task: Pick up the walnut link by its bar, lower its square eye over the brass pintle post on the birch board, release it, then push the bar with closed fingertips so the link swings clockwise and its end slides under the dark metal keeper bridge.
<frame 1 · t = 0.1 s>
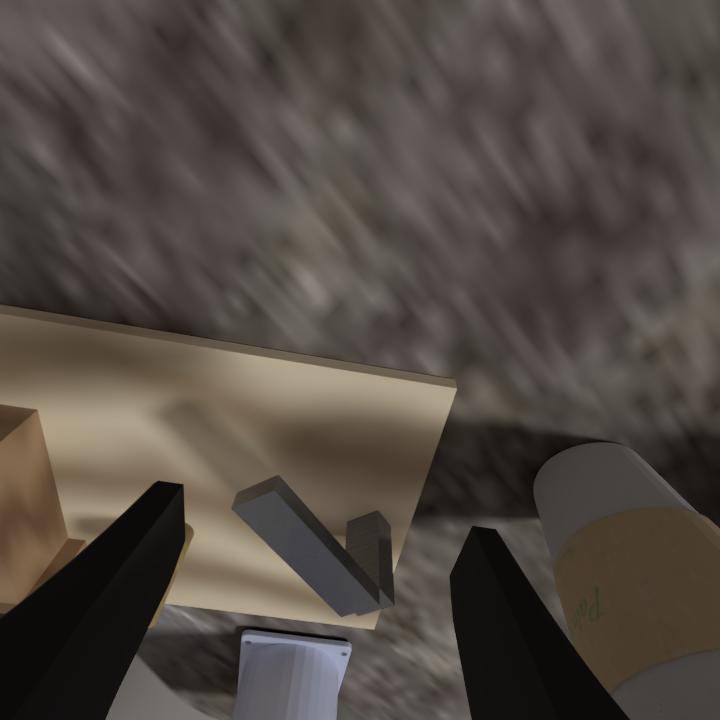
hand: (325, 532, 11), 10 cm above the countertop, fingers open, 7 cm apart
board: (191, 491, 24), on the countertop
coffee cup: (587, 479, 23), on the countertop
link: (14, 436, 22), point 1 cm above the countertop, touching board
keeper: (323, 468, 22), resting on board
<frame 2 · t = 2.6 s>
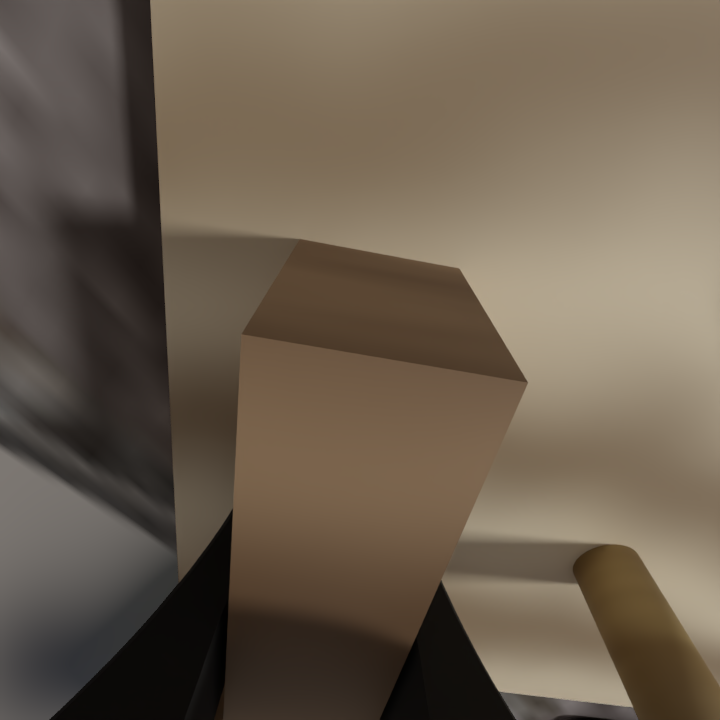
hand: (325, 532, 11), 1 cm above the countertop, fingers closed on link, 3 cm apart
board: (651, 483, 12), on the countertop
link: (361, 348, 9), point 1 cm above the countertop, touching board, gripper
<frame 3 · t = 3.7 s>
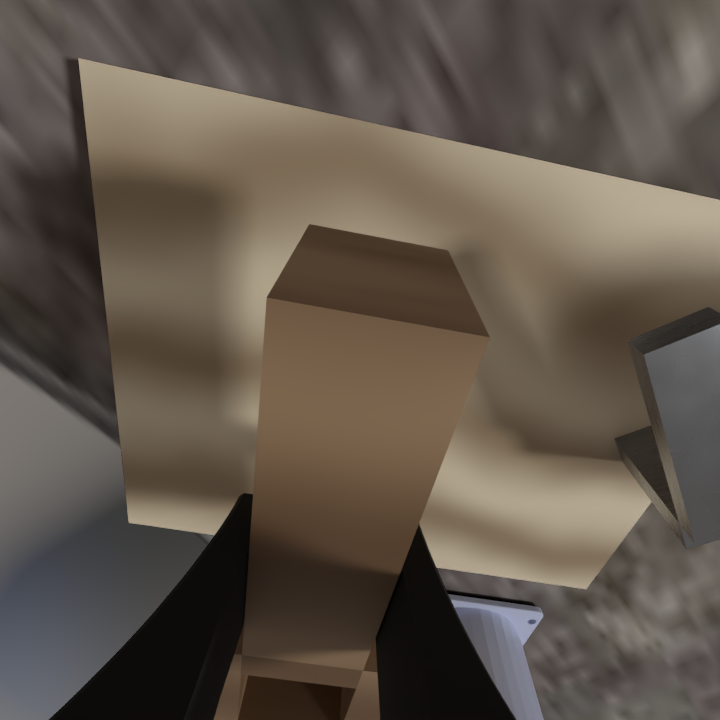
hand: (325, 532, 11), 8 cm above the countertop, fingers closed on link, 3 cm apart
board: (411, 397, 19), on the countertop
link: (362, 320, 10), point 6 cm above the countertop, touching gripper
keeper: (616, 358, 17), resting on board
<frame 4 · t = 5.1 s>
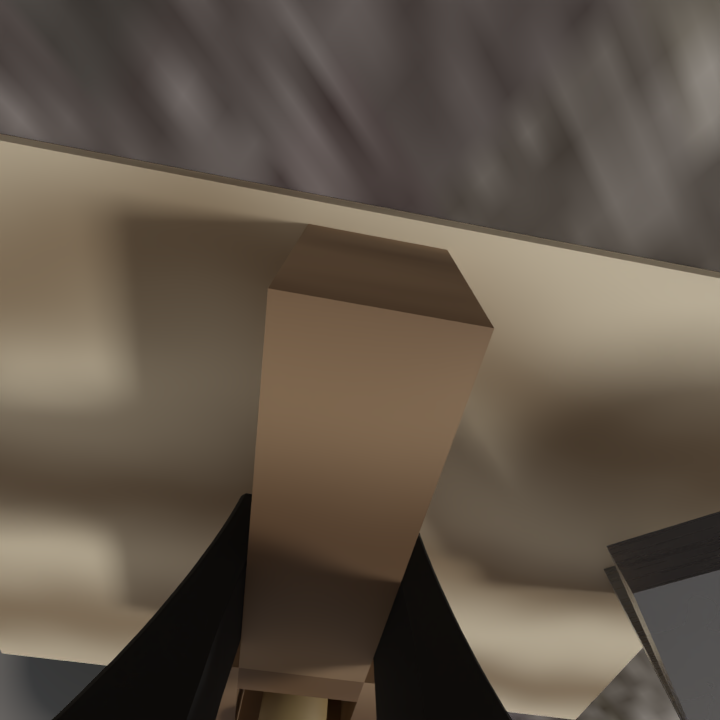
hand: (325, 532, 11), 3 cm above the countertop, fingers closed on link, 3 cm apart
board: (337, 516, 14), on the countertop
link: (361, 321, 10), point 1 cm above the countertop, touching board, gripper
keeper: (602, 480, 12), resting on board
when the fingers open (3 cm above the countertop, at t = 5.3 s): link stays where it is, resting on board.
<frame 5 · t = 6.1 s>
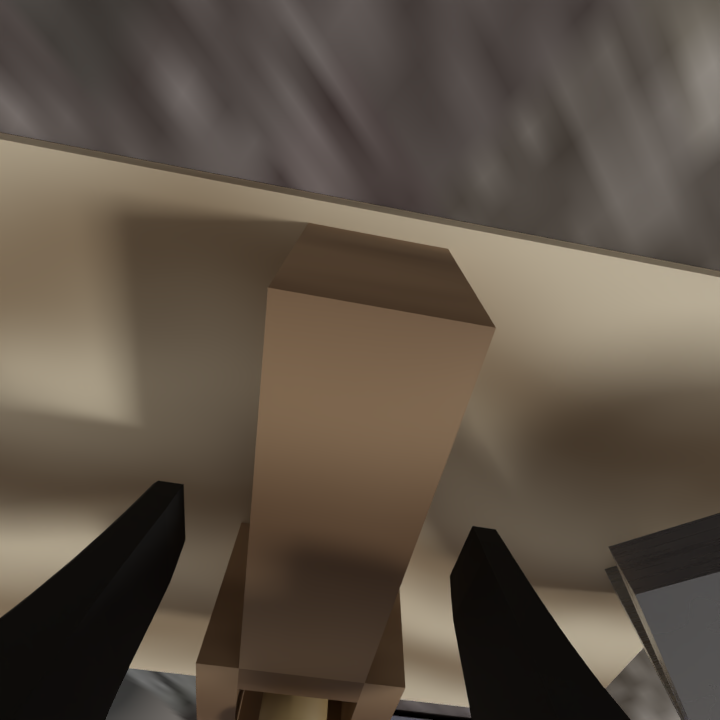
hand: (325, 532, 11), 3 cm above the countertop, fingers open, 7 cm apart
board: (337, 516, 14), on the countertop
link: (362, 321, 10), point 1 cm above the countertop, touching board
keeper: (603, 480, 12), resting on board
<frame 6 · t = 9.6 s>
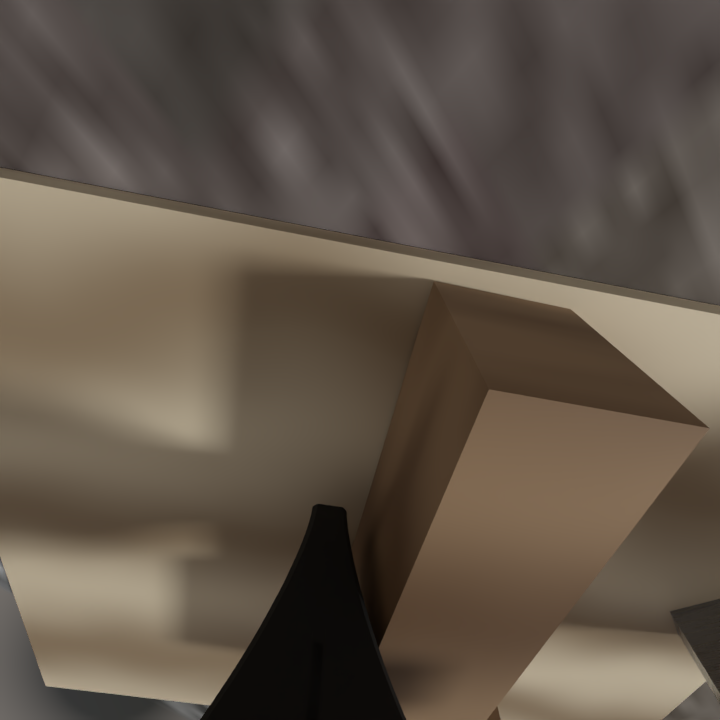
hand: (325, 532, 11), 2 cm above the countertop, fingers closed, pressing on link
board: (398, 555, 14), on the countertop
link: (471, 376, 10), point 1 cm above the countertop, touching board, gripper
keeper: (679, 527, 12), resting on board
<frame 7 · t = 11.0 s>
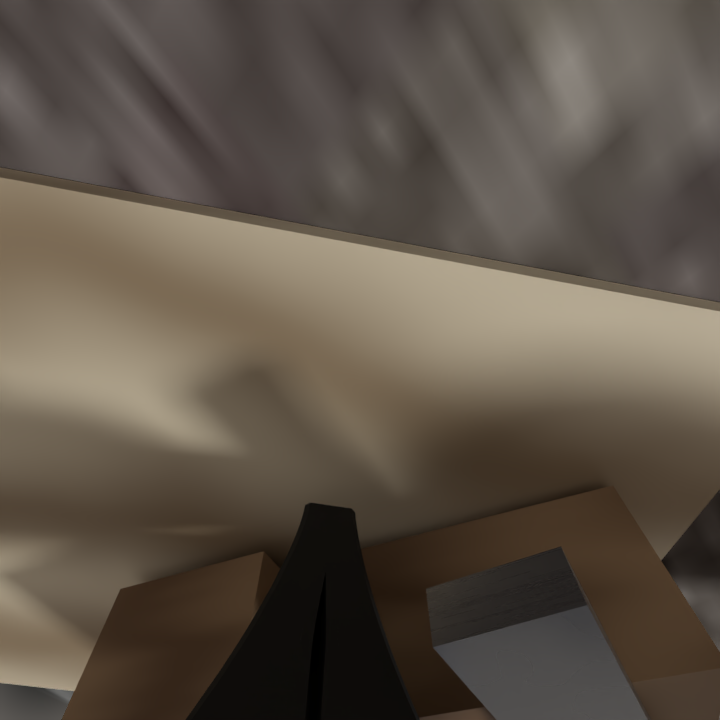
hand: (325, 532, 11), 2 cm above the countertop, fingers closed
board: (242, 534, 14), on the countertop
link: (542, 536, 12), point 1 cm above the countertop, tilted 5°, touching board, gripper
keeper: (504, 499, 12), resting on board
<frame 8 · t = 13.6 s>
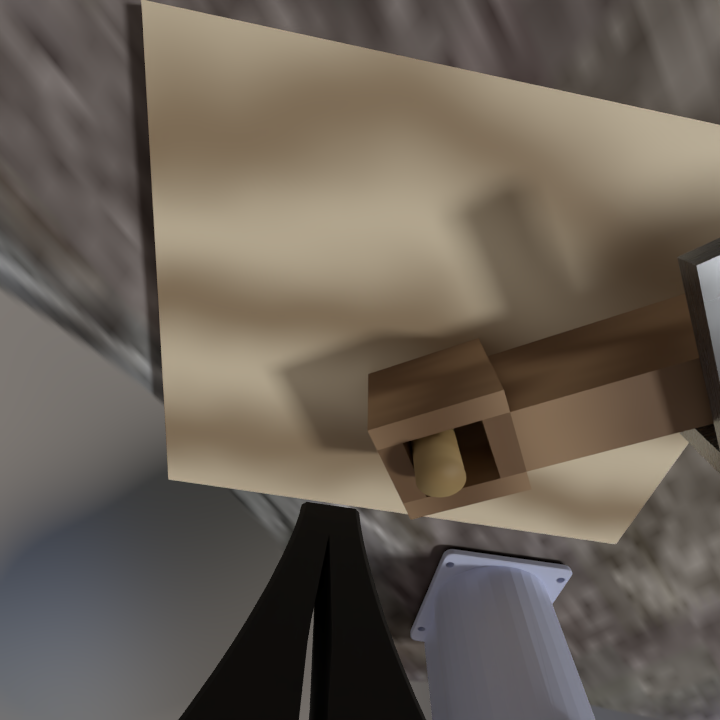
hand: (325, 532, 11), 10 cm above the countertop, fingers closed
board: (448, 346, 19), on the countertop
link: (671, 330, 18), point 1 cm above the countertop, touching board
keeper: (652, 300, 17), resting on board
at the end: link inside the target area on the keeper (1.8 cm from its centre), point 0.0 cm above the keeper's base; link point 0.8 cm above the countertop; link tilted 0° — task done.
